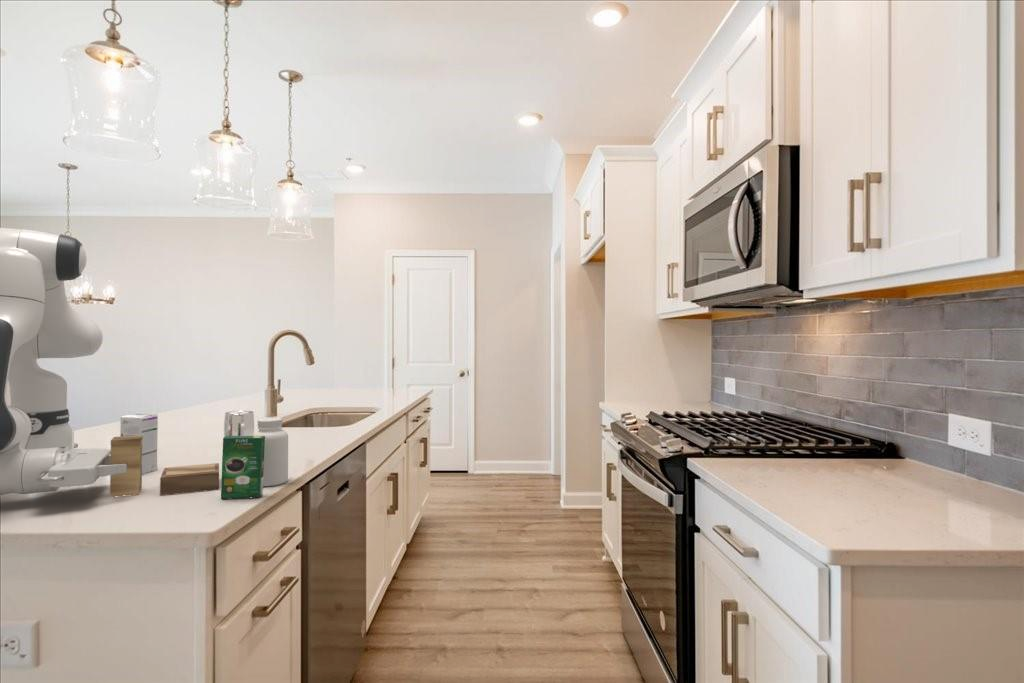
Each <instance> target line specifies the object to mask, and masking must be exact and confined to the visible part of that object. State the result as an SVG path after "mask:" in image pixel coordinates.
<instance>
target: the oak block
mask: <svg viewBox="0 0 1024 683" xmlns="http://www.w3.org/2000/svg"><path fill="white" fill-rule="evenodd" d="M142 439H143V435H138V436H121V437H120V436H113V438H112V439H111V440H110V450H111V465H115V464H119V463H127V465H128V467H127V468H128V469H127V471H126V472H125V473H118V474H113V475H109V476H110V477H109V478H110V480H109V482H110V483H109V485H110V487H109V489H110V490H109V498H110V497H113V498H116V497H115V496H123V495H132V496H135V495H134V494H139V493H140V494H141V492H142V490H143V489H142V488H143V486H142V485H143V484H142V483H143V474H142ZM140 491H141V492H140ZM140 494H139V495H140ZM123 497H124V496H123Z"/></svg>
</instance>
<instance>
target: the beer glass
mask: <svg viewBox="0 0 1024 683" xmlns="http://www.w3.org/2000/svg"><path fill="white" fill-rule="evenodd" d="M254 413H255V412H254V411H253V410H233V411H227V412H224V420H223V438H224V437H225V436H252V435H253V434H254V433H255V415H254Z"/></svg>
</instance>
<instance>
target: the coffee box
mask: <svg viewBox="0 0 1024 683" xmlns="http://www.w3.org/2000/svg"><path fill="white" fill-rule="evenodd" d="M264 449H265V436H225V437H224V436H223V439H222V456H221V457H222V458H221V459H222V460H221V461H222V462H221V484H220V485H221V486H220V499H221V500H230V499H229V498H233V499H254V498H253V497H260V498H261V497H262V496H261V495H263V492H264V490H263V489H264V487H263V471H264ZM250 497H252V498H250Z"/></svg>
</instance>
